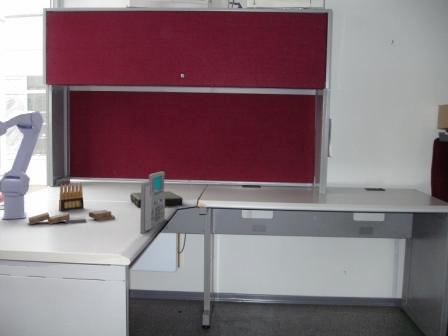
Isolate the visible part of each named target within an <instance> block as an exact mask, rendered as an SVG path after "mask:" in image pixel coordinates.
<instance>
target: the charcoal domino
mask: <svg viewBox="0 0 448 336" xmlns="http://www.w3.org/2000/svg"><path fill="white" fill-rule="evenodd" d="M77 223H79V224H81V223H87V218H86V217H85V216H77V217H76V216H75V217H74V216H72V217H69V219H68V220H65V224H77Z"/></svg>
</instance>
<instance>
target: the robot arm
mask: <svg viewBox="0 0 448 336" xmlns="http://www.w3.org/2000/svg"><path fill="white" fill-rule="evenodd" d="M43 124H44V119H43V115H42V113H41V112H40V111H39V110H33V111H32V110H16V111H14V112H12V114H11V115H9V116H7V117H6V118H4V119H3V120H0V137H2V136H4V135H6V134H7V132H8V129H10V128H12V127H14V126H16V127H17V129H18V130H19V132H20V133H21V134H22V136H23V137H22V139H21V142H20V144H19V147H18V150H17V153H16V156H15V158H14V161H13V164H12V166H11V169H10V170H8V171H7V172H5V173H3V176H2V178H1V179H0V194H1V196H3V214H2V215H3V216H2V220H14V219H17V220H18V219H26V215H27V212H25V195H27V192H29V188H30V180H31V178H30V177H29V176H28V174H27V171H28V168H29V165H30V162H31V159H32V157H33V153H34V150H35V147H36V145H37V142H38V139H39V136H40V132H41V130H42V126H43Z"/></svg>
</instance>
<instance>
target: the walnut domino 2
mask: <svg viewBox="0 0 448 336" xmlns="http://www.w3.org/2000/svg"><path fill="white" fill-rule="evenodd" d="M69 218H71V217H70V213H69V212H68V211H67V212H65V213H60V214H57V215H52V216H50V219H48V220H47V222H48V225H51V224H56V223H60V222H64V221H65V222H66V220H68V219H69Z"/></svg>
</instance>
